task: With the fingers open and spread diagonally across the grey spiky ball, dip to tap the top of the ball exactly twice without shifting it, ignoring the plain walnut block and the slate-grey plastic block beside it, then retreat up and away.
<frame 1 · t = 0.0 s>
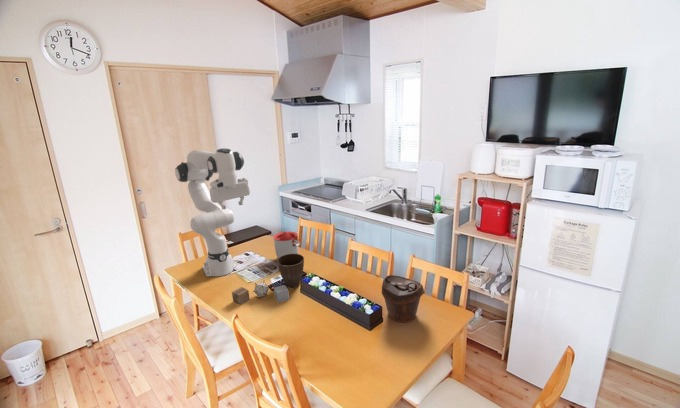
hand: (232, 207, 173), 48 cm above the table, fingers open, 8 cm apart
grey block: (282, 298, 175), on the table
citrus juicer: (289, 260, 219), on the table
grey spiky ball: (262, 296, 178), on the table
dark brown lidded bucket: (402, 314, 157), on the table
plant pot: (293, 285, 188), on the table
walnut block: (241, 301, 175), on the table
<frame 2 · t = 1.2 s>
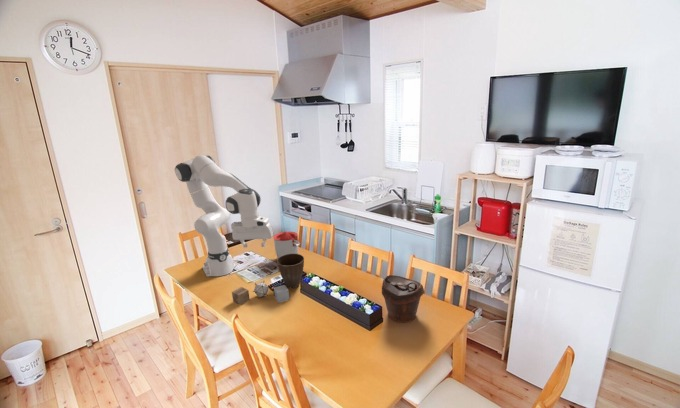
hand: (254, 246, 170), 29 cm above the table, fingers open, 8 cm apart
nothing on the table moved.
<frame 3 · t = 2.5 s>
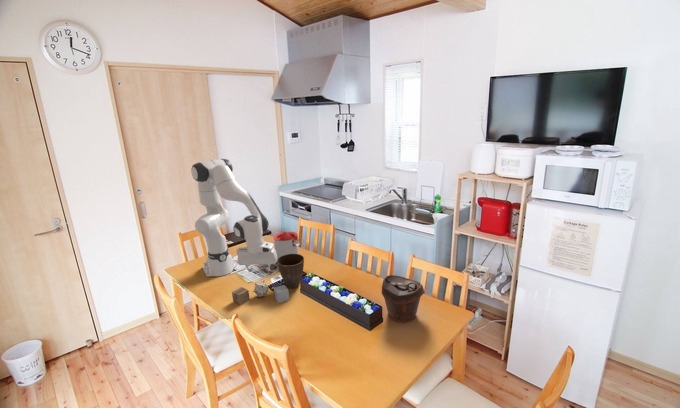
hand: (259, 271, 174), 15 cm above the table, fingers open, 8 cm apart
nothing on the table moved.
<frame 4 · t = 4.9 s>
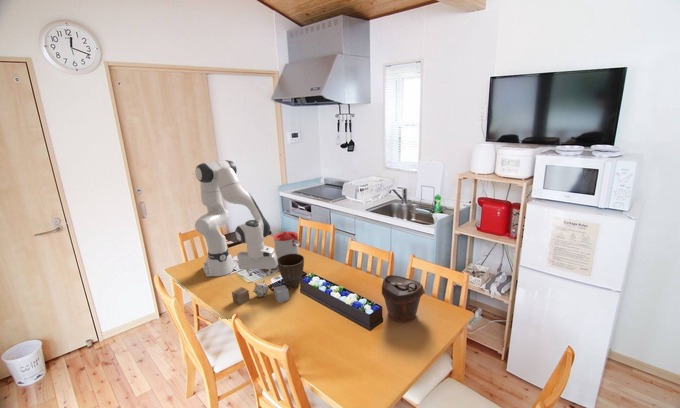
hand: (259, 275, 175), 12 cm above the table, fingers open, 8 cm apart
nothing on the table moved.
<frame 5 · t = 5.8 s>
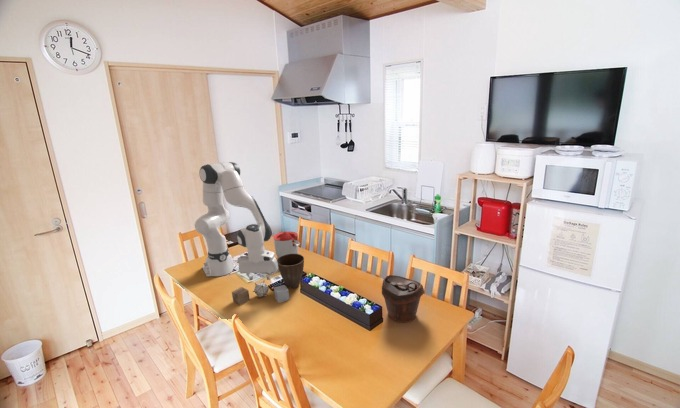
hand: (260, 279, 176), 10 cm above the table, fingers open, 8 cm apart
nothing on the table moved.
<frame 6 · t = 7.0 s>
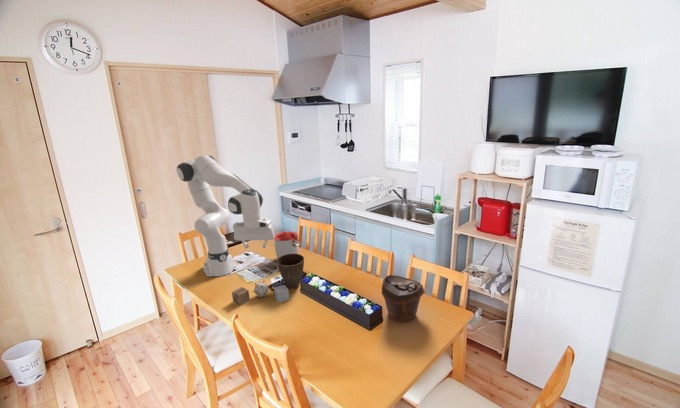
hand: (255, 247, 170), 28 cm above the table, fingers open, 8 cm apart
nothing on the table moved.
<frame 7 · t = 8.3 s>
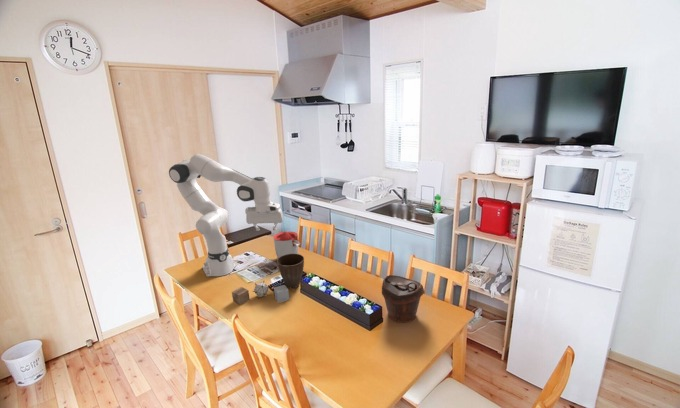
hand: (266, 230, 186), 31 cm above the table, fingers open, 8 cm apart
nothing on the table moved.
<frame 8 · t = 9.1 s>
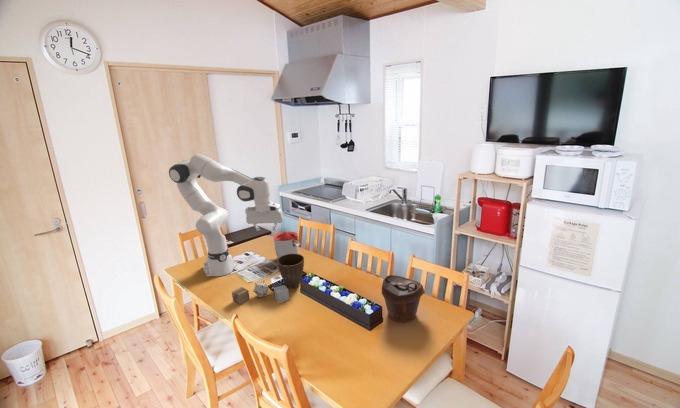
hand: (266, 230, 186), 31 cm above the table, fingers open, 8 cm apart
nothing on the table moved.
at the end: grey spiky ball moved 0.2 cm from its start; grey spiky ball tilted 0°; walnut block moved 0.1 cm from its start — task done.
